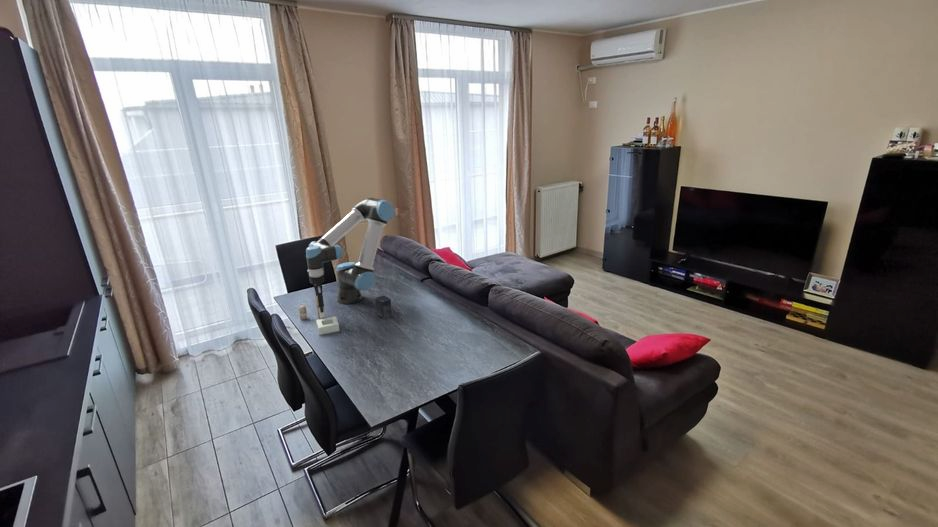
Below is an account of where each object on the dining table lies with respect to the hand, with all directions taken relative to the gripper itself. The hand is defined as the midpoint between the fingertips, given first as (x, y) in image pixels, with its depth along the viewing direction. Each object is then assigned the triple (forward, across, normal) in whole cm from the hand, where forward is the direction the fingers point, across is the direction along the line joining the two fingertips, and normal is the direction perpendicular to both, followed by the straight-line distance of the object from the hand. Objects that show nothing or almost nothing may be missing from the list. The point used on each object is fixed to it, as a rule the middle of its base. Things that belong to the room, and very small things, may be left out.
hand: (321, 313), depth 224 cm
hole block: (+4, +12, +2) cm, 13 cm away
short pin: (+4, -7, -9) cm, 12 cm away
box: (+4, +9, +32) cm, 34 cm away
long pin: (+4, 0, 0) cm, 4 cm away
